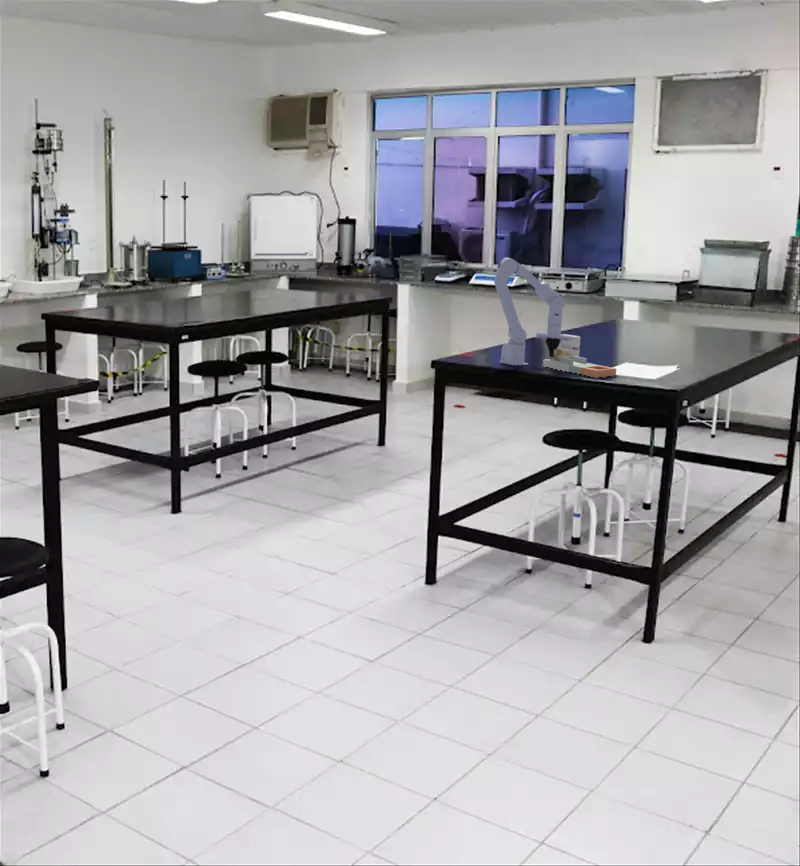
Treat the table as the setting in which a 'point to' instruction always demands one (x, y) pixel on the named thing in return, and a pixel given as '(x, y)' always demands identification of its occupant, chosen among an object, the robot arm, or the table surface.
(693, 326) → the table surface
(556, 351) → the maple block
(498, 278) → the robot arm
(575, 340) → the ink box
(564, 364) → the channel deck
